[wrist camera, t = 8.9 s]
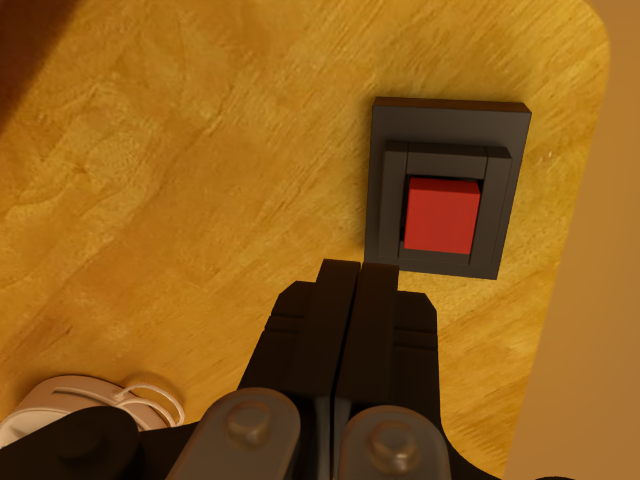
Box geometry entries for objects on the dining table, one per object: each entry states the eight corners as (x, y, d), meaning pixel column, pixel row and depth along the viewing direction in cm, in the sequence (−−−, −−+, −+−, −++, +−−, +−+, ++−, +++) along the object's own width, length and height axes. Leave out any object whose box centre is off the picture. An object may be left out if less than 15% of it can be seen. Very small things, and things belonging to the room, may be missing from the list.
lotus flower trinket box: (79, 572, 46) (215, 515, 38) (-59, 473, 42) (58, 385, 34) (118, 504, 52) (243, 442, 44) (1, 412, 48) (113, 325, 40)
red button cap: (410, 176, 26) (409, 188, 24) (477, 181, 25) (480, 193, 23) (404, 233, 27) (403, 248, 26) (467, 239, 27) (470, 254, 25)
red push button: (376, 96, 27) (369, 113, 24) (524, 102, 26) (539, 121, 23) (366, 250, 32) (360, 282, 29) (492, 262, 31) (501, 297, 27)
